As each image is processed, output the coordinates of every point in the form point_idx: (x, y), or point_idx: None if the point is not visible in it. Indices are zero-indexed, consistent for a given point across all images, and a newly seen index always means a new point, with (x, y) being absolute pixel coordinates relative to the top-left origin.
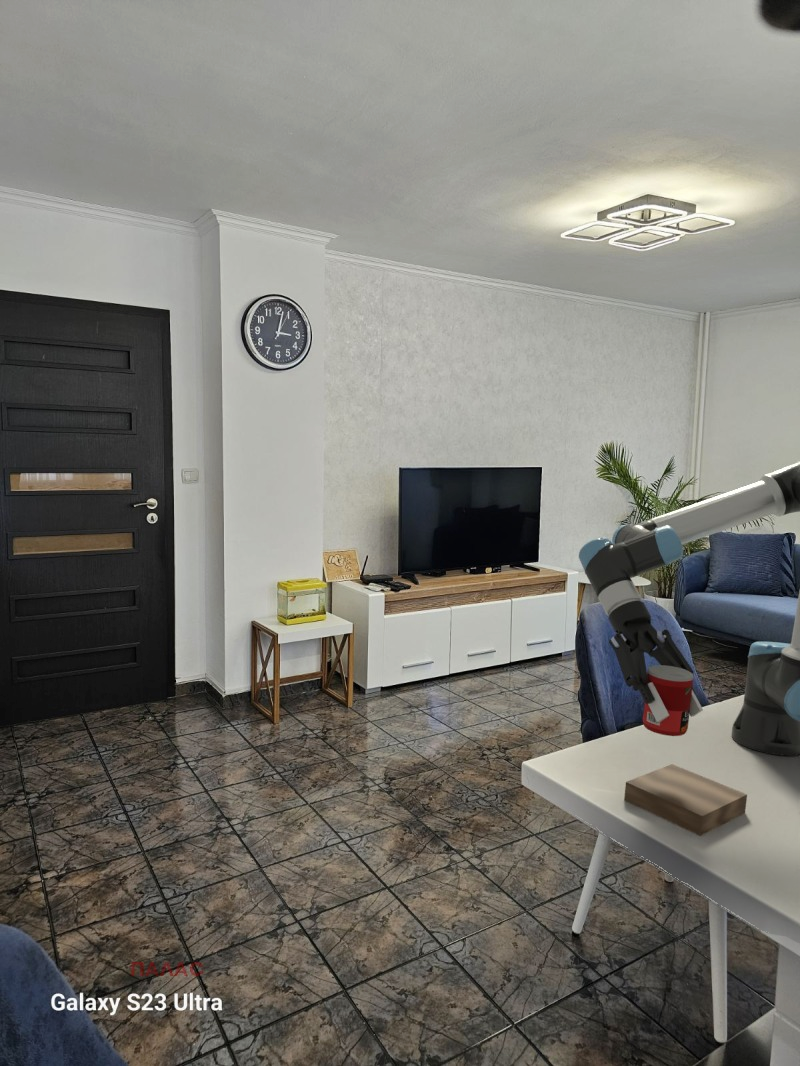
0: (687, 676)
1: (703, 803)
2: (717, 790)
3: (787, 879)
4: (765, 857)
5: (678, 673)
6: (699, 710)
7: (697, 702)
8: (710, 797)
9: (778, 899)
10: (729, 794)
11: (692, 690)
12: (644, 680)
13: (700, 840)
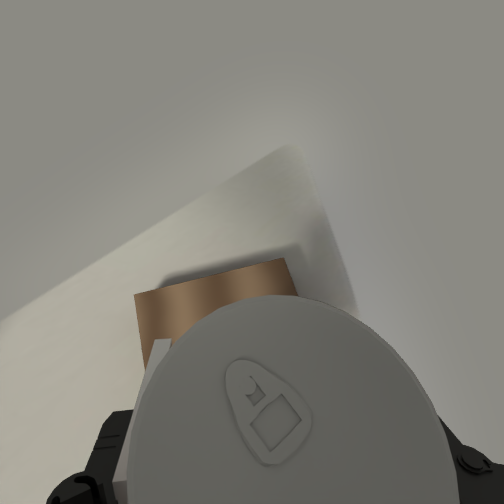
0: (233, 335)
1: (247, 290)
2: (176, 323)
3: (246, 171)
4: (231, 207)
5: (243, 416)
6: (171, 342)
7: (158, 360)
8: (216, 304)
9: (288, 153)
10: (168, 304)
11: (137, 404)
12: (477, 458)
13: (286, 262)
